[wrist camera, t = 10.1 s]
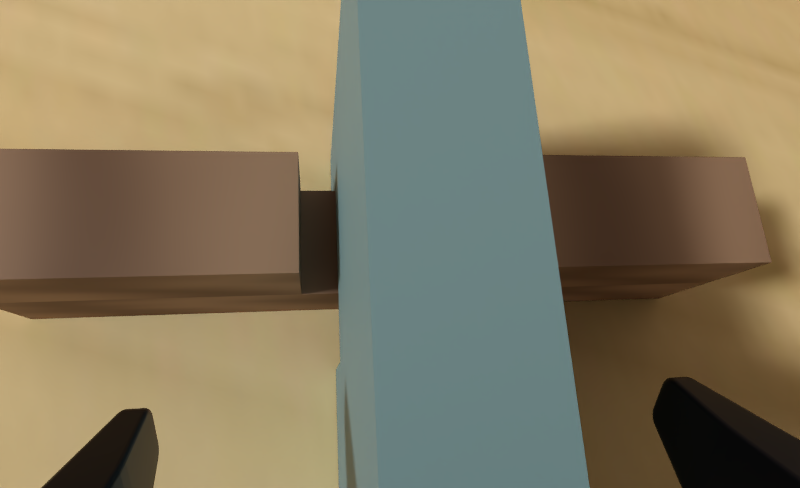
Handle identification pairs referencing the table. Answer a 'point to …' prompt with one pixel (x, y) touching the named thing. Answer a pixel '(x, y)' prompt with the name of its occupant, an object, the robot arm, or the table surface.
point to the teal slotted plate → (446, 256)
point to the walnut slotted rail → (329, 230)
